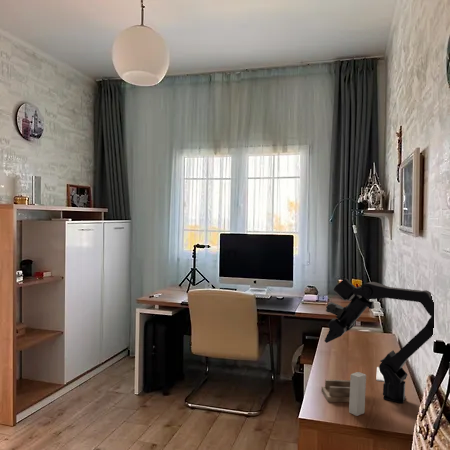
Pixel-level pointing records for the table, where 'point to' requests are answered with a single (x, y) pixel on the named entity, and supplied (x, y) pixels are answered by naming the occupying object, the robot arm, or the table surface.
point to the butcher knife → (379, 375)
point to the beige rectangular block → (357, 393)
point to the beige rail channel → (336, 390)
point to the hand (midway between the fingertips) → (328, 339)
